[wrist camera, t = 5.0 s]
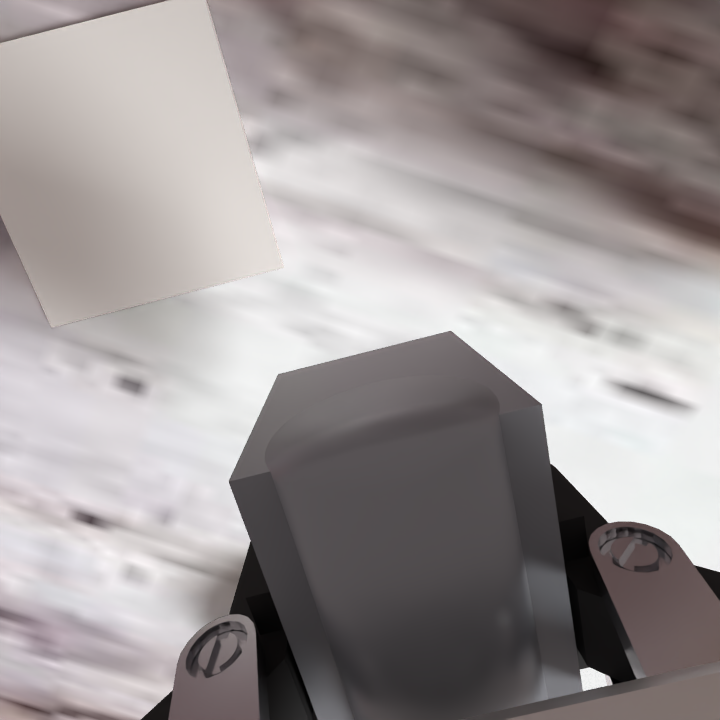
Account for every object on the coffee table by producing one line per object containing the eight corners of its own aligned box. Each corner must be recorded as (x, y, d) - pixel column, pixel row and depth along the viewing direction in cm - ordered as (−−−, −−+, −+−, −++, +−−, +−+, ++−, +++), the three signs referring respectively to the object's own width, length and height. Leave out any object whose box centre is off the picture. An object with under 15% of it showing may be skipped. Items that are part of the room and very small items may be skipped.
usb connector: (451, 330, 11) (580, 436, 5) (512, 646, 13) (642, 952, 8) (278, 374, 11) (207, 527, 5) (374, 678, 14) (399, 1005, 8)
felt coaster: (206, -1, 19) (202, -9, 19) (284, 267, 22) (283, 268, 22) (-58, 66, 19) (-70, 60, 19) (58, 325, 22) (51, 327, 22)
